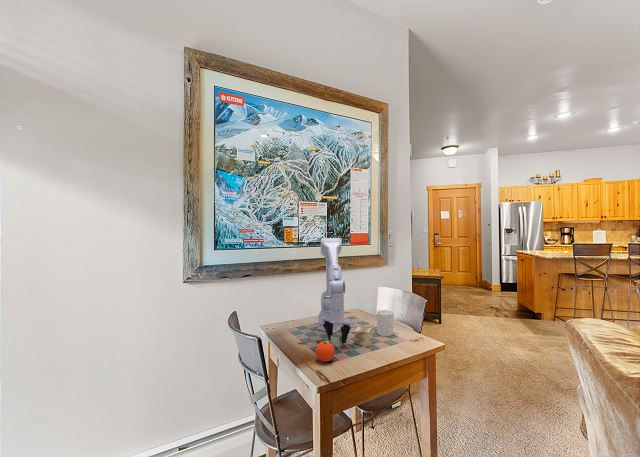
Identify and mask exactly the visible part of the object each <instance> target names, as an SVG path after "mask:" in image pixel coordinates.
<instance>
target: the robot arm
mask: <svg viewBox="0 0 640 457" xmlns="http://www.w3.org/2000/svg"><path fill="white" fill-rule="evenodd" d="M342 242H343V240H342V238H341V237H327V238H326V237H322V238H321V239H320V254H321V255H322V256H323V257H324V258H325V270H326V272H325V273H326V274H325V276H326V277H325V278H326V280H325V282H326V289H325V291H323V292H322V293H321V295H320V311H319V313H318V328H317V330H320V331H324V332H326V335H327V339H328V340H327V341H331V335H333V334H335V333H336V332H338V331H340V332H341V334H342V344H343V345H344V344H346V343H347V339H348V336H349V333H350V331H351V329H352V328H353V327H354V325H355V324H354V321H352V320H349V319H346V318H345V303H344V302H345V294H346V281H345V279H344V277H343V271H342V267H341V265H339V255H340V254H341V252H342V247H343V243H342Z"/></svg>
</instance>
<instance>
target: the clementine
mask: <svg viewBox="0 0 640 457" xmlns="http://www.w3.org/2000/svg"><path fill="white" fill-rule="evenodd" d="M331 343H332V342H331V340H330V341H329V340H325V341H321V342H320V343H318V344H317V345H316V347H315V356H316V357H317V359H318V360H319V361H320V362H322V363H323V362H324V363H326V362H330V361H331V360H332V359H333V358H334V356H335V346H333V345H332V344H331Z"/></svg>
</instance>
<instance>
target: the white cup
mask: <svg viewBox="0 0 640 457" xmlns="http://www.w3.org/2000/svg"><path fill="white" fill-rule="evenodd" d="M375 314H376V327H377V335H379V336H382V337H391V336H393V335H394V332H393V330H394V321H395V320H394V315H395V312H394V311H393V310H388V309H378V310H377V311H376V312H375Z"/></svg>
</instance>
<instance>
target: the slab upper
mask: <svg viewBox="0 0 640 457" xmlns="http://www.w3.org/2000/svg"><path fill="white" fill-rule="evenodd" d="M372 330H373V329H372V327H365V326H357V327H356V328H355V329H354V337H355V338H358V339H366V340H369V339H370V337H371V336H373V331H372Z"/></svg>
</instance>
